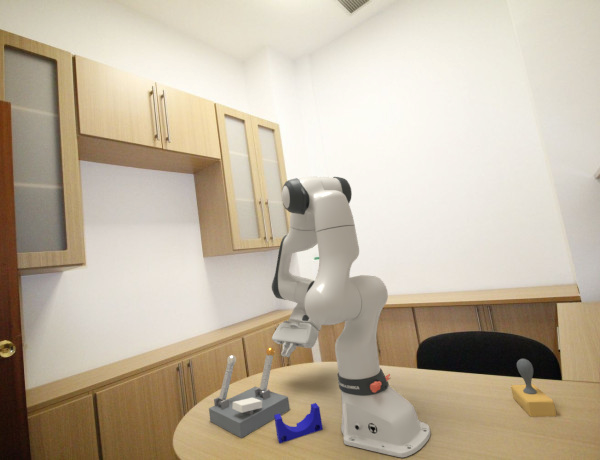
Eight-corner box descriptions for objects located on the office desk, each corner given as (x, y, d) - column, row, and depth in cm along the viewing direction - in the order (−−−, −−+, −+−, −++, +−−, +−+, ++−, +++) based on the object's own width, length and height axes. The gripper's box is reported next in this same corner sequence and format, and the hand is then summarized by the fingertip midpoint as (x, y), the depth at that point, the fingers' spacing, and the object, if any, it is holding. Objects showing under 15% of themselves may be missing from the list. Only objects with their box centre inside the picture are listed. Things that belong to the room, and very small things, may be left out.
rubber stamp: (513, 398, 86) (503, 353, 87) (536, 397, 85) (527, 352, 86) (530, 417, 77) (519, 366, 78) (557, 416, 75) (545, 364, 77)
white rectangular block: (262, 407, 93) (262, 400, 94) (241, 412, 89) (242, 405, 89) (252, 404, 97) (252, 397, 97) (232, 408, 92) (232, 401, 93)
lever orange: (268, 397, 102) (277, 348, 108) (260, 396, 101) (270, 346, 106) (262, 395, 104) (271, 347, 110) (255, 394, 103) (265, 346, 108)
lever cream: (227, 406, 100) (238, 356, 105) (219, 406, 98) (231, 354, 104) (222, 404, 102) (234, 355, 108) (214, 404, 100) (226, 353, 106)
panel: (289, 409, 99) (286, 389, 100) (241, 438, 87) (238, 414, 88) (256, 398, 112) (254, 380, 113) (210, 421, 100) (207, 401, 100)
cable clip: (317, 422, 89) (314, 400, 90) (322, 430, 85) (319, 407, 86) (276, 435, 86) (273, 412, 86) (279, 444, 82) (276, 419, 82)
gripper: (278, 316, 125) (261, 348, 118) (314, 317, 111) (298, 354, 103) (288, 324, 128) (272, 357, 120) (325, 327, 113) (310, 364, 106)
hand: (284, 356), depth 112 cm, fingers closed
